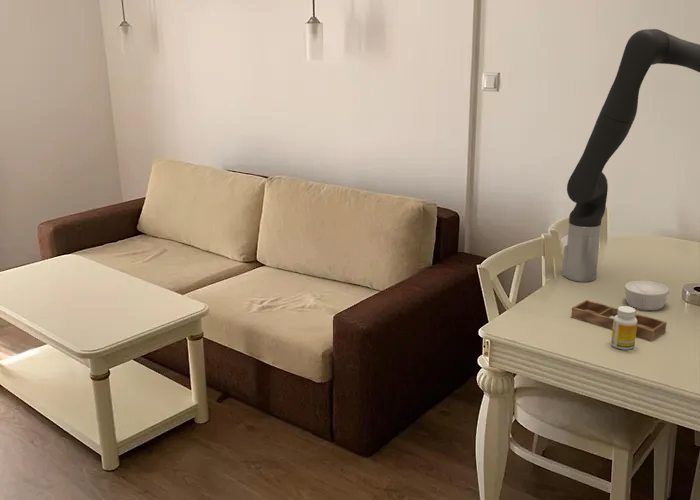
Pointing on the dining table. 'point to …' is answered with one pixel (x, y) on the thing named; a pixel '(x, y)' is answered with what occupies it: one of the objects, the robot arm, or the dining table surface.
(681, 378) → the dining table surface
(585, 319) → the wooden compartment tray
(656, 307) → the ramekin
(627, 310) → the supplement bottle
